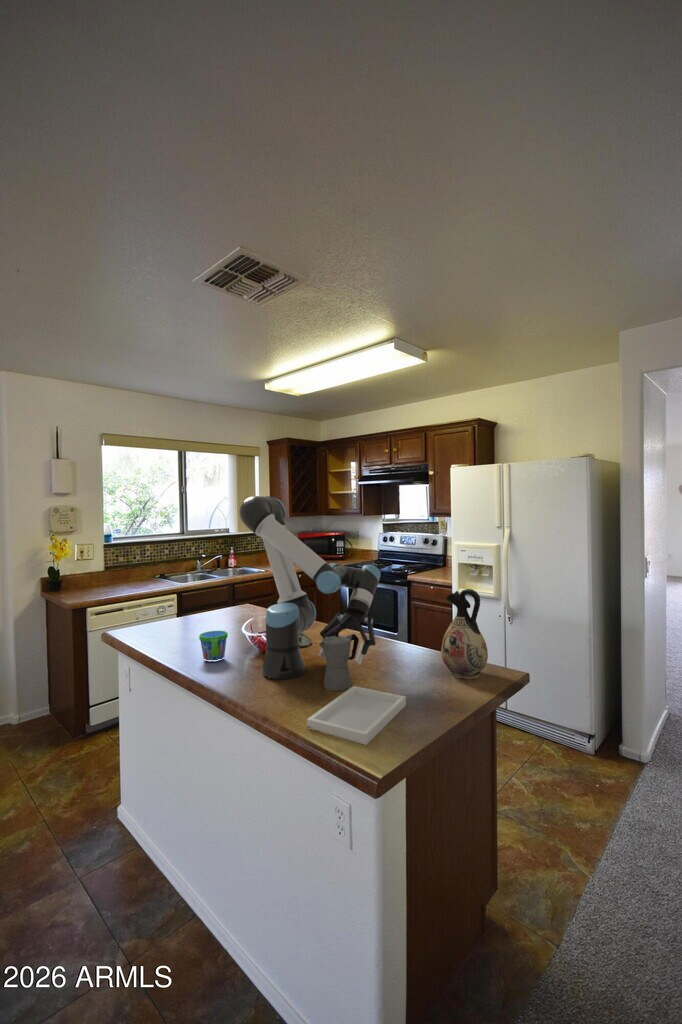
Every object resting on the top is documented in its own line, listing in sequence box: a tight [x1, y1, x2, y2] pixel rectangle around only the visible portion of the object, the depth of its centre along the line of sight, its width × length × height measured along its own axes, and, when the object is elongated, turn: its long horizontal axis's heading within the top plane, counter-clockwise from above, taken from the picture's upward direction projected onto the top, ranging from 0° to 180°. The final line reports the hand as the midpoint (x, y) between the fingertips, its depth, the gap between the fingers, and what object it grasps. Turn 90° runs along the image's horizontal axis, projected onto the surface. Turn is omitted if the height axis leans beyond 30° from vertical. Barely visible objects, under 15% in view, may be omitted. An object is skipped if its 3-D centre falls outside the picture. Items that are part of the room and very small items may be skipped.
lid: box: [299, 632, 312, 648], centre depth 195 cm, size 11×10×5 cm
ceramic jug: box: [440, 588, 489, 680], centre depth 155 cm, size 17×15×30 cm
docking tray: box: [306, 685, 407, 746], centre depth 126 cm, size 17×25×2 cm
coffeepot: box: [318, 631, 360, 692], centre depth 149 cm, size 15×9×18 cm, turn 125°
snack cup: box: [198, 630, 228, 660], centre depth 177 cm, size 16×10×10 cm
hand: (338, 659), depth 148 cm, fingers open, 13 cm apart
